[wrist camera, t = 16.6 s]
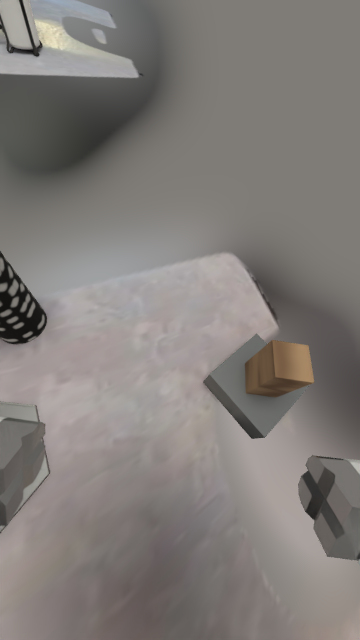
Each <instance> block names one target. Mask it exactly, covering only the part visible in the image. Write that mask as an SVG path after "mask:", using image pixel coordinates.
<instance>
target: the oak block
mask: <svg viewBox="0 0 360 640" xmlns="http://www.w3.org/2000/svg"><path fill="white" fill-rule="evenodd" d="M312 383H314V378H313V372H312V365H311V359H310V353H309V348H308V345H302V344H295V343H289V342H282V341H276V340H272V341H271V342H269V343H268V344H267V345H266V346H265V347H263V348H262V349H261V350H260V351H259V352H258V353H256V354H255V355H254V356H253V357H252V358H250V359H249V360H248V361H247V362H246V363H245V386H246V393H247V394H254V395H261V396H268V397H279V396H281V395H284V394H286V393H289V392H292V391H294V390H297V389H299V388H302V387H305V386H307V385H309V384H312Z"/></svg>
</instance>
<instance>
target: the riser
mask: <svg viewBox="0 0 360 640" xmlns="http://www.w3.org/2000/svg"><path fill="white" fill-rule="evenodd" d="M266 345H267V343H266V342H264V341H263V340H262V339H261V338H260V337H259V336H258V335H257V334H256V335H254V336H253V337H252V338H251V339H250V340H249V341H248V342H246V343H245V344H244V345H243V346H242V347H241V348H240V349H238V350H237V351H236V352H235V353H234V354H233V355H232V356H230V357H229V358H228V359H227V360H226V361H225V362H223V363H222V364H221V365H220V366H219V367H218V368H217V369H215V370H214V371H213V372H212V373H211V374H210V375H209V376H208V377H207V378H206V379H205V380H204V384H205V385H206V386H207V387H208V388H209V389H210V391H211V392H212V393H213V394H214V395H215V396H216V398H217V399H218V400H219V401H220V402H221V403H222V404H223V406H224V407H225V408H226V409H227V410H228V411H229V413H230V414H231V415H232V416H233V417H234V418H235V420H236V421H237V422H238V423H239V424H240V426H241V427H242V428H243V429H244V430H245V431H246V433H247V434H248V435H249V436H250V437H251V438H252V439H254V438H265V437H266V436H267V434H268V433H269V432H270V431H271V429H273V428H274V426H275V425H276V424H277V423H278V422H279V421H280V419H281V418H282V417H283V416H284V415H285V414H286V412H287V411H288V410H289V409H290V408H291V407H292V405H293V404H294V403H295V402H296V401H297V400H298V399H299V397H300V396H301V395H302V394H303V393H304V391H305V390H306V389H307V388H308V387H309V385H307V386H305V387H302V388H299V389H297V390H294V391H292V392H289V393H286V394H284V395H281V396H279V397H268V396H261V395H254V394H247V393H246V386H245V363H246V362H247V361H248V360H249V359H250V358H252V357H253V356H254V355H255V354H256V353H258V352H259V351H260V350H261V349H262V348H263V347H265V346H266Z"/></svg>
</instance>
